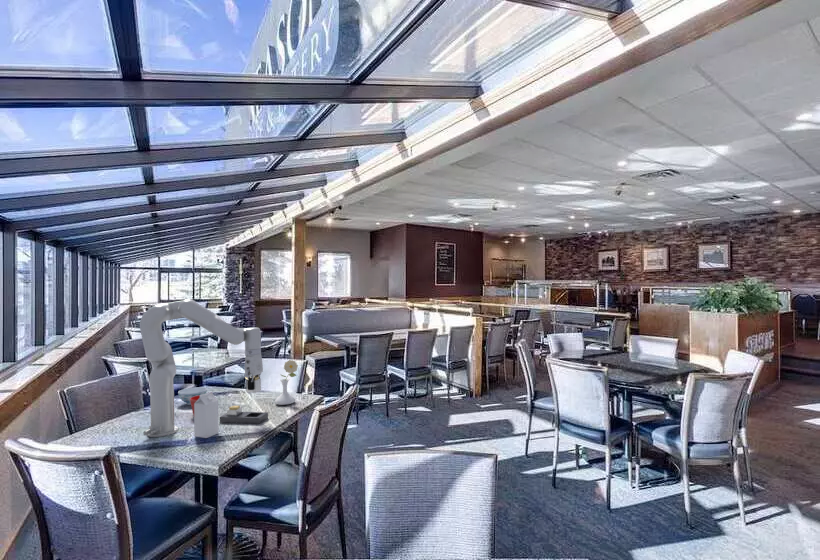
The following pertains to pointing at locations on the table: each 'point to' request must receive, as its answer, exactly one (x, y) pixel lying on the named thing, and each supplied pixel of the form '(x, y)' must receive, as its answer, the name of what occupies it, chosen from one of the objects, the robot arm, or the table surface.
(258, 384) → the grey and tan block
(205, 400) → the milk carton
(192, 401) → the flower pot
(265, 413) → the dark grey slotted board
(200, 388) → the chinaware
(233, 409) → the tan topped grey block
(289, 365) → the flower in vase
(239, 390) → the table surface
